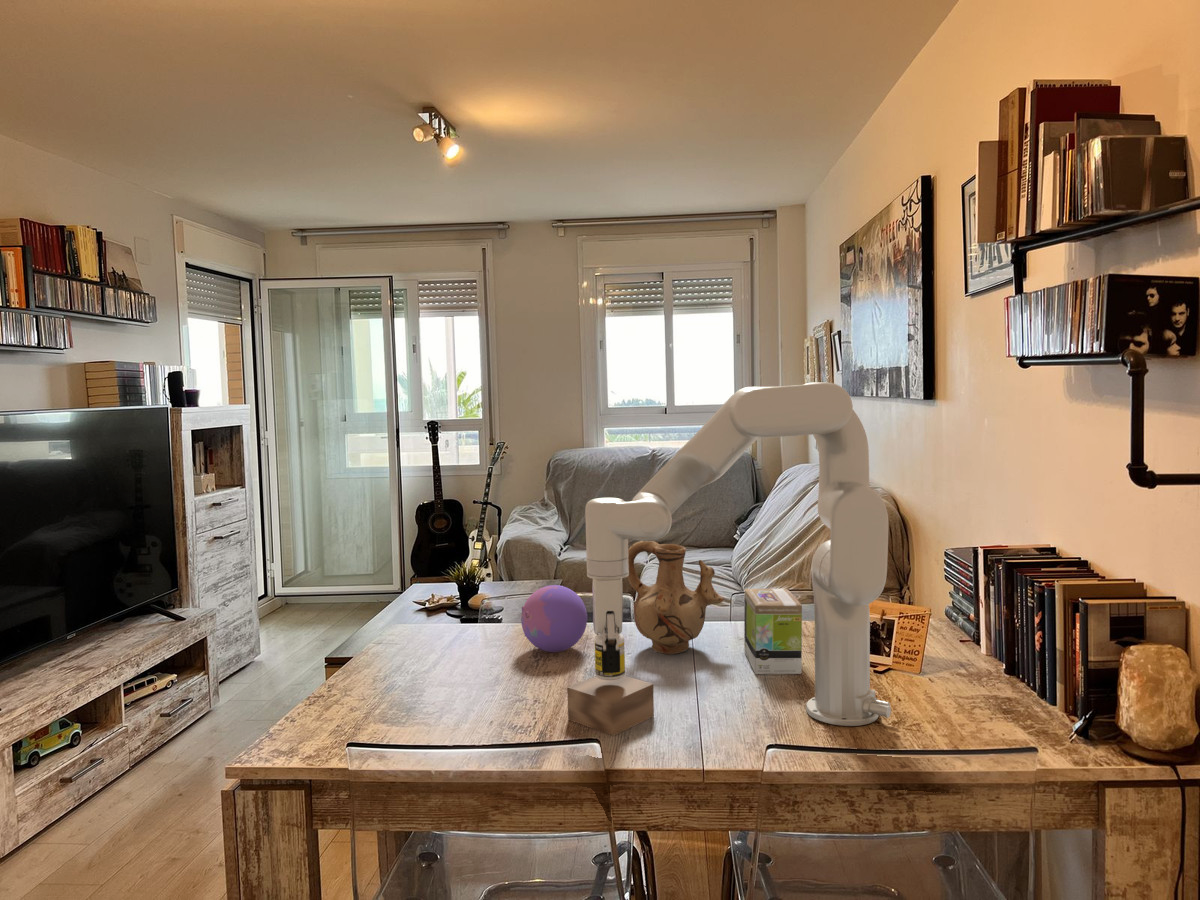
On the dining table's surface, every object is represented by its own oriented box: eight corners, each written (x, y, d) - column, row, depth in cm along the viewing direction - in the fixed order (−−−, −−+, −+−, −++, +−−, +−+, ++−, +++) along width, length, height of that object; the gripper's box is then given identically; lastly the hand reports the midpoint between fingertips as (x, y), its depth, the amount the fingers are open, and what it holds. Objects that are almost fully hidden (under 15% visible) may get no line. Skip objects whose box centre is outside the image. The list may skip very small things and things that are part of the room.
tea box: (803, 675, 171) (803, 604, 170) (754, 675, 171) (753, 605, 170) (788, 651, 186) (788, 586, 185) (743, 652, 186) (742, 587, 185)
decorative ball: (513, 646, 194) (511, 583, 193) (572, 637, 201) (570, 575, 200) (535, 665, 181) (533, 597, 180) (598, 654, 187) (596, 588, 186)
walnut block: (653, 716, 151) (653, 683, 151) (613, 735, 143) (612, 701, 143) (608, 701, 159) (608, 671, 158) (568, 719, 151) (567, 687, 150)
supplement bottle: (590, 678, 149) (588, 625, 149) (604, 669, 154) (602, 617, 153) (616, 682, 147) (615, 628, 146) (630, 673, 152) (628, 620, 151)
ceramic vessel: (664, 667, 177) (662, 551, 175) (610, 646, 193) (608, 539, 191) (725, 650, 188) (725, 541, 186) (670, 631, 203) (669, 530, 201)
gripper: (585, 558, 157) (588, 652, 159) (588, 578, 140) (590, 684, 142) (625, 556, 158) (627, 650, 159) (632, 577, 141) (634, 682, 142)
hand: (610, 665), depth 150 cm, fingers closed on supplement bottle, 5 cm apart
